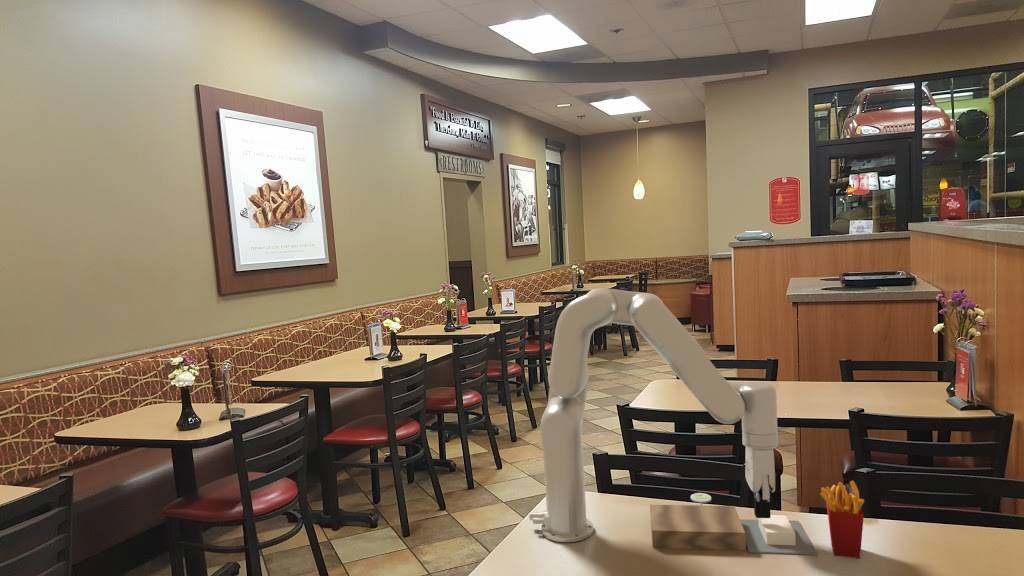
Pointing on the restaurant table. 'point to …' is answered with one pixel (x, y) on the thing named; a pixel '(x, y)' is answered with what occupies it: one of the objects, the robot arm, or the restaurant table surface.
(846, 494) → the french fries
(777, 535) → the cream rectangular block
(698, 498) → the sign
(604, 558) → the restaurant table surface
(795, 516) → the restaurant table surface
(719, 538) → the board
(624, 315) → the robot arm
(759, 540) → the mat
